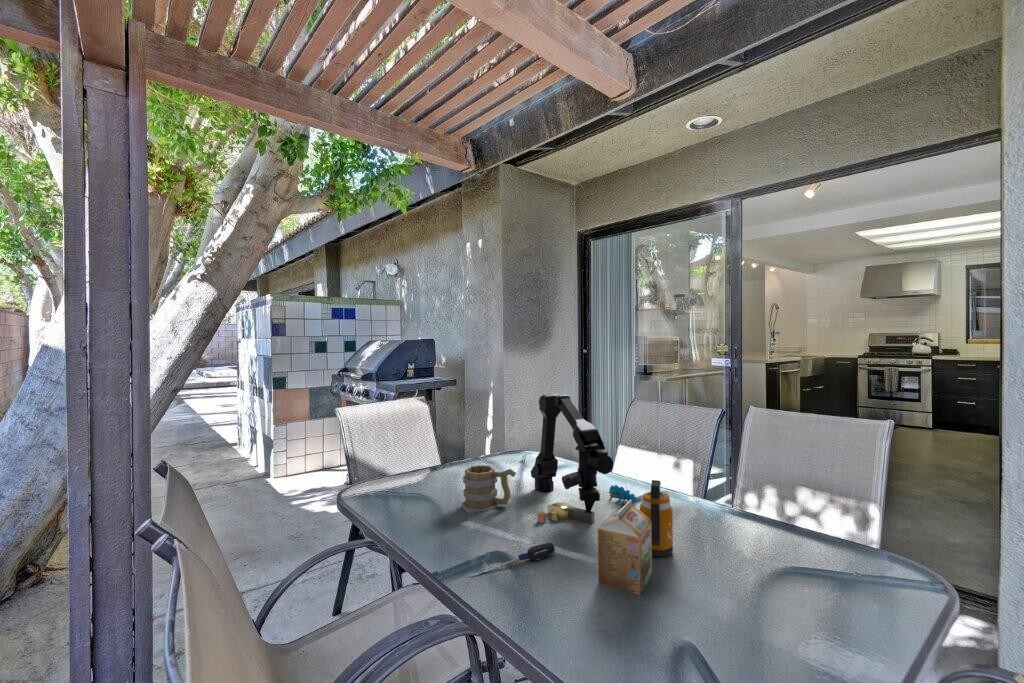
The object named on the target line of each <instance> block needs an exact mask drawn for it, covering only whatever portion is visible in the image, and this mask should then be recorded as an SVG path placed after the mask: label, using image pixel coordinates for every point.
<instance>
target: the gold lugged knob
mask: <svg viewBox="0 0 1024 683" xmlns="http://www.w3.org/2000/svg"><path fill="white" fill-rule="evenodd" d="M547 514H550V516H551V520H552V521H556V522H557V521H558V520H562V521H564V520H568V519H570V520H575V521H578V522H582V523H586V524H590V525H593V523H595V512H594V511H592V510H591V511H588V510H586V509H583V508H580V507H575V506H573V505H572V503H567V502H555V503H552V504H548V505H547Z"/></svg>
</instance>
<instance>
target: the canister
mask: <svg viewBox="0 0 1024 683" xmlns="http://www.w3.org/2000/svg"><path fill="white" fill-rule="evenodd" d="M670 497H671V496H670V495H669V494H668V493H666V492H663V491H661V480H656V479H651V484H650V491H648V492H644V493H643V494H642V496H641V503H640V505H639V510H640V511H641V512H642V513H644V514H645V515H646V516H647V517H648V518H649V519H650V520H651V522H652V557H653V556H654V557H665V556H670V555H671V554H672V553H673V552H674V548H673V547H674V540H673V539H674V538H673V537H674V535H673V534H674V533H673V530H674V528H673V527H674V526H673V524H674V523H673V522H674V521H673V516H674V515H673V507H672V506H671V499H670Z"/></svg>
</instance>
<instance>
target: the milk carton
mask: <svg viewBox="0 0 1024 683" xmlns="http://www.w3.org/2000/svg"><path fill="white" fill-rule="evenodd" d="M597 565H598V566H597V570H598V571H597V572H598V574H597V575H598V576H597V577H598V580H597V582H598V583H597V584H599V583H600V585H603V586H607V587H610V588H613V589H617V590H620V591H624V592H627V593H629V594H630V593H631V594H634V595H638V596H641V595H642V592H643V591H644V589H645V588H646V587H647V584H648V583H649V581H650V579H651V578H652V576H653V555H652V522H651V520H650V519H649V518H648V517H647V516H646V515H645V514H644V513H642V512H641V511H640V508H638V507H636V506H634V505H633V502H632V500H629V501H627V502H626V504H625V505H624V506H622V507H621V508H618V509H616V510H615V511H614V512H612V514H610V515H609V516H608V517H607V519H606V520H604V521H603V523H601V524H600V526H598V528H597Z"/></svg>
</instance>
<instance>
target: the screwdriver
mask: <svg viewBox="0 0 1024 683" xmlns="http://www.w3.org/2000/svg"><path fill="white" fill-rule="evenodd" d="M555 549H556V548H555V546H554V544H553V543H552V542H545V543H541V544H537V545H534V546H531V547H529V549H527V551H526V553H522V554H518V558H514V559H512V560H510V561H506V562H503V563H501V564H497V565H496V566H502V567H504V566H503V565H505V566H508V565H511V564H513V563H516V562H519V561H526V560H529V559H530V560H537V559H539V560H541V559H540V558H542V559H543V557H544V558H546V557H548V556H550V555H553V554H554V553H555ZM530 560H529V561H530ZM537 561H538V560H537ZM507 564H508V565H507ZM496 566H494V567H496Z"/></svg>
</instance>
